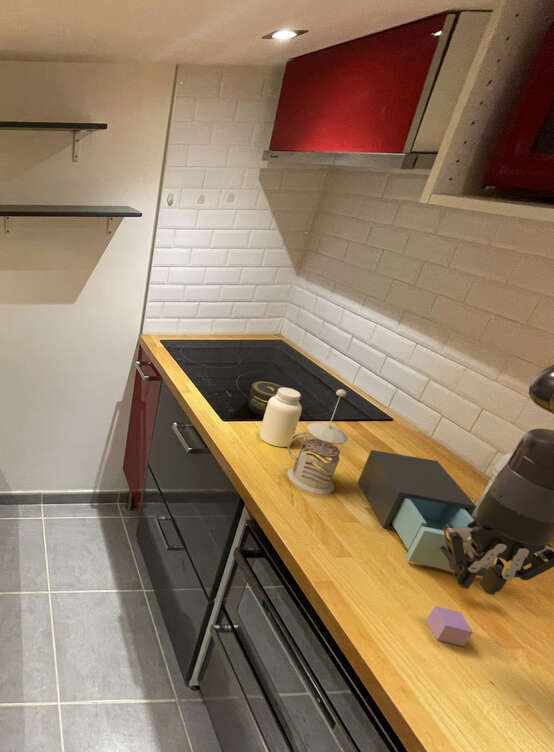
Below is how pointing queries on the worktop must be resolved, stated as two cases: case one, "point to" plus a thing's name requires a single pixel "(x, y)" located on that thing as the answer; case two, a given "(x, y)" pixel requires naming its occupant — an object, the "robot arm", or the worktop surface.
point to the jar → (261, 396)
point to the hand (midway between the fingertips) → (473, 586)
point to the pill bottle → (281, 417)
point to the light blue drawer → (429, 531)
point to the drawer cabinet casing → (407, 484)
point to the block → (449, 626)
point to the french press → (307, 472)
